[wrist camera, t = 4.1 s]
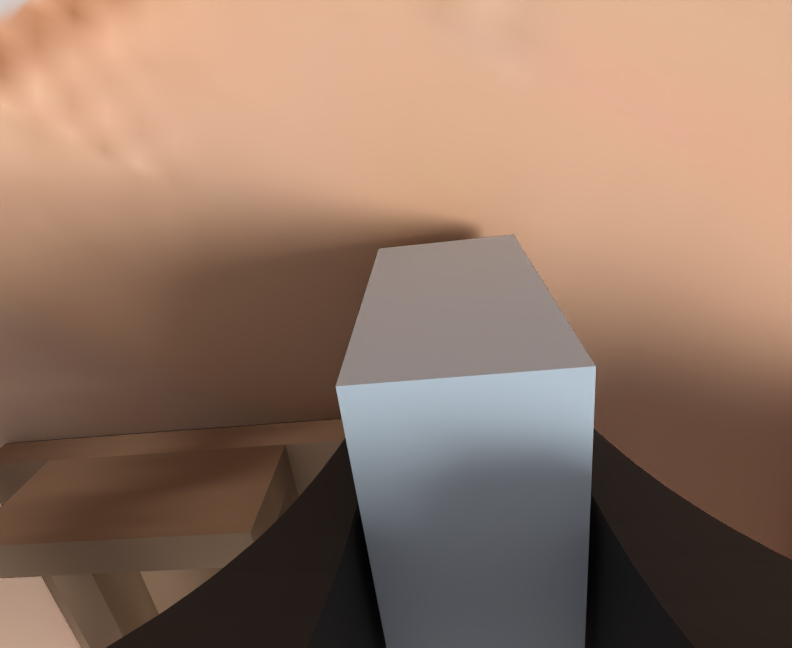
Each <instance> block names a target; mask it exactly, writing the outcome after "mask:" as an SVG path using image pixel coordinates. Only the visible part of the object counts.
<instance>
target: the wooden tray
mask: <svg viewBox="0 0 792 648" xmlns="http://www.w3.org/2000/svg"><path fill="white" fill-rule="evenodd" d="M344 438H345V433H344V427H343V422H342V419H333V420H320V421H306V422H293V423H279V424H265V425H252V426H238V427H224V428H211V429H197V430H184V431H170V432H156V433H143V434H129V435H116V436H102V437H88V438H75V439H61V440H47V441H34V442H20V443H7V444H5V445H4V446H2V447H1V448H0V503H1V505H2V506H1V507H0V578H14V577H36V576H42V578H43V580H44V581H45V583H46V585H47V587H48V589H49V590H50V592H51V594H52V596H53V598H54V599H55V601H56V603H57V605H58V606H59V608H60V610H61V612H62V614H63V615H64V617H65V619H66V621H67V623H68V624H69V626H70V628H71V630H72V631H73V633H74V635H75V637H76V639H77V640H78V642H79V644H80V646H81V648H106V647H108V646H109V645H111V644H112V643H114V642H116V641H117V640H119V639H120V638H122V637H124V636H125V635H127V634H129V633H130V632H132V631H133V630H135V629H137V628H138V627H140V626H142V625H143V624H145V623H146V622H148V621H150V620H151V619H153V618H154V617H156V616H157V615H159V614H160V613H162V612H163V611H165V610H166V609H168V608H169V607H171V606H172V605H174V604H175V603H176V602H178V601H179V600H181V599H182V598H184V597H185V596H186V595H188V594H189V593H191V592H192V591H193V590H195V589H196V588H197V587H199V586H200V585H201V584H203V583H204V582H206V581H207V580H208V579H210V578H211V577H212V576H213V575H215V574H216V573H217V572H219V571H220V570H221V569H222V568H223V567H225V566H226V565H227V564H228V563H229V562H231V561H232V560H233V559H234V558H235V557H237V556H238V555H239V554H240V553H241V552H243V551H244V550H245V549H246V548H247V547H249V546H250V545H251V544H252V543H253V542H255V541H256V540H257V539H258V538H259V537H260V536H261V535H262V534H263V533H264V532H265V531H266V530H267V529H269V528H270V527H271V526H272V525H273V524H274V523H275V522H276V521H277V520H278V519H279V518H280V517H281V516H282V515H283V513H284V512H285V511H286V510H287V509H288V508H289V507H290V506H291V505H292V504H293V503H294V502H295V501H296V499H297V498H298V497H299V496H300V495H301V494H302V492H303V491H304V490H305V489H306V488H307V486H308V485H309V484H310V483H311V482H312V481H313V479H314V478H315V477H316V476H317V475H318V473H319V472H320V471H321V470H322V468H323V467H324V466H325V464H326V463H327V462H328V460H329V459H330V458H331V456H332V455H333V454H334V452H335V451H336V450H337V448H338V447H339V446H340V444H341V443H342V441H343V440H344ZM386 648H387V647H386Z"/></svg>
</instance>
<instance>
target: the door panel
mask: <svg viewBox="0 0 792 648" xmlns="http://www.w3.org/2000/svg"><path fill="white" fill-rule="evenodd" d="M595 380H596V365H595V364H594V362H593V360H592V359H591V357H590V356H589V354H588V352H587V351H586V349H585V348H584V346H583V344H582V343H581V341H580V340H579V338H578V336H577V335H576V333H575V332H574V330H573V329H572V327H571V325H570V324H569V322H568V321H567V319H566V317H565V316H564V314H563V313H562V311H561V309H560V308H559V306H558V305H557V303H556V301H555V300H554V298H553V297H552V295H551V293H550V292H549V290H548V289H547V287H546V285H545V284H544V282H543V281H542V279H541V277H540V276H539V274H538V273H537V271H536V269H535V268H534V266H533V265H532V263H531V261H530V260H529V258H528V257H527V255H526V253H525V252H524V250H523V249H522V247H521V245H520V244H519V242H518V241H517V239H516V237H515V236H514V234H513V235H504V236H494V237H484V238H475V239H465V240H456V241H446V242H436V243H427V244H417V245H408V246H398V247H389V248H379V250H378V253H377V256H376V259H375V262H374V266H373V269H372V272H371V275H370V278H369V282H368V285H367V288H366V291H365V294H364V297H363V301H362V304H361V307H360V310H359V313H358V316H357V320H356V323H355V326H354V329H353V332H352V336H351V339H350V342H349V345H348V348H347V351H346V355H345V358H344V361H343V364H342V367H341V371H340V374H339V377H338V380H337V383H336V386H335V387H336V392H337V397H338V402H339V407H340V412H341V417H342V422H343V427H344V433H345V438H346V443H347V448H348V453H349V458H350V463H351V468H352V473H353V479H354V484H355V489H356V494H357V499H358V504H359V509H360V514H361V519H362V524H363V530H364V535H365V540H366V545H367V550H368V555H369V560H370V565H371V570H372V576H373V581H374V586H375V591H376V596H377V601H378V606H379V611H380V616H381V622H382V627H383V632H384V637H385V642H386V647H387V648H585V629H586V604H587V579H588V554H589V529H590V505H591V480H592V455H593V430H594V405H595Z"/></svg>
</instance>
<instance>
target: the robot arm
mask: <svg viewBox="0 0 792 648" xmlns="http://www.w3.org/2000/svg"><path fill="white" fill-rule="evenodd" d="M106 648H386V642H385V637H384V632H383V627H382V622H381V616H380V611H379V606H378V601H377V596H376V591H375V586H374V581H373V576H372V570H371V565H370V560H369V555H368V550H367V545H366V540H365V535H364V530H363V524H362V519H361V514H360V509H359V504H358V499H357V494H356V489H355V484H354V479H353V473H352V468H351V463H350V458H349V453H348V448H347V443H346V438H344V440H343V441H342V443H341V444H340V446H339V447H338V448H337V450H336V451H335V452H334V454H333V455H332V456H331V458H330V459H329V460H328V462H327V463H326V464H325V466H324V467H323V468H322V470H321V471H320V472H319V473H318V475H317V476H316V477H315V478H314V479H313V481H312V482H311V483H310V484H309V485H308V486H307V488H306V489H305V490H304V491H303V492H302V494H301V495H300V496H299V497H298V498H297V499H296V501H295V502H294V503H293V504H292V505H291V506H290V507H289V508H288V509H287V510H286V511H285V512H284V513H283V515H282V516H281V517H280V518H279V519H278V520H277V521H276V522H275V523H274V524H273V525H272V526H271V527H270V528H269V529H267V530H266V531H265V532H264V533H263V534H262V535H261V536H260V537H259V538H258V539H257V540H256V541H255V542H253V543H252V544H251V545H250V546H249V547H247V548H246V549H245V550H244V551H243V552H241V553H240V554H239V555H238V556H237V557H235V558H234V559H233V560H232V561H231V562H229V563H228V564H227V565H226V566H225V567H223V568H222V569H221V570H220V571H219V572H217V573H216V574H215V575H213V576H212V577H211V578H210V579H208V580H207V581H206V582H204V583H203V584H201V585H200V586H199V587H197V588H196V589H195V590H193V591H192V592H191V593H189V594H188V595H186V596H185V597H184V598H182V599H181V600H179V601H178V602H176V603H175V604H174V605H172V606H171V607H169V608H168V609H166V610H165V611H163V612H162V613H160V614H159V615H157V616H156V617H154V618H153V619H151V620H150V621H148V622H146V623H145V624H143V625H142V626H140V627H138V628H137V629H135V630H133V631H132V632H130V633H129V634H127V635H125V636H124V637H122V638H120V639H119V640H117V641H116V642H114V643H112V644H111V645H109V646H108V647H106ZM585 648H792V560H790V559H788V558H786V557H784V556H782V555H780V554H778V553H776V552H774V551H773V550H771V549H769V548H767V547H765V546H763V545H761V544H760V543H758V542H756V541H754V540H752V539H750V538H749V537H747V536H745V535H743V534H741V533H739V532H738V531H736V530H734V529H732V528H730V527H729V526H727V525H725V524H724V523H722V522H720V521H718V520H717V519H715V518H713V517H712V516H710V515H709V514H707V513H705V512H704V511H702V510H701V509H699V508H698V507H696V506H694V505H693V504H691V503H690V502H688V501H687V500H685V499H683V498H682V497H680V496H679V495H677V494H676V493H674V492H673V491H671V490H670V489H669V488H667V487H666V486H664V485H663V484H661V483H660V482H659V481H657V480H656V479H655V478H653V477H652V476H651V475H649V474H648V473H647V472H645V471H644V470H643V469H641V468H640V467H639V466H637V465H636V464H635V463H634V462H632V461H631V460H630V459H629V458H627V457H626V456H625V455H624V454H623V453H621V452H620V451H619V450H618V449H617V448H616V447H614V446H613V445H612V444H611V443H610V442H608V441H607V440H606V439H605V438H604V437H603V436H602V435H600V434H599V433H598V432H597V431H596V430H595V429H594V430H593V455H592V480H591V505H590V529H589V554H588V579H587V604H586V629H585Z"/></svg>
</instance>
